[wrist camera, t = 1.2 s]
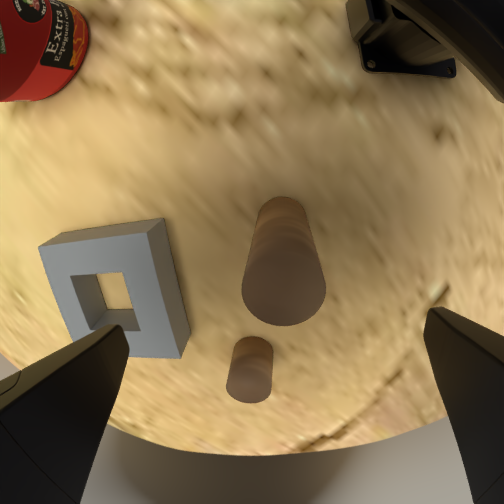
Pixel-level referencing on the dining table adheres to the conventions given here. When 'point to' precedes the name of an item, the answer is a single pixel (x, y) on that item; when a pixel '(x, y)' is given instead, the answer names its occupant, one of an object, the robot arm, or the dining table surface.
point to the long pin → (283, 266)
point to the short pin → (250, 370)
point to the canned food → (39, 48)
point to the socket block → (136, 278)
